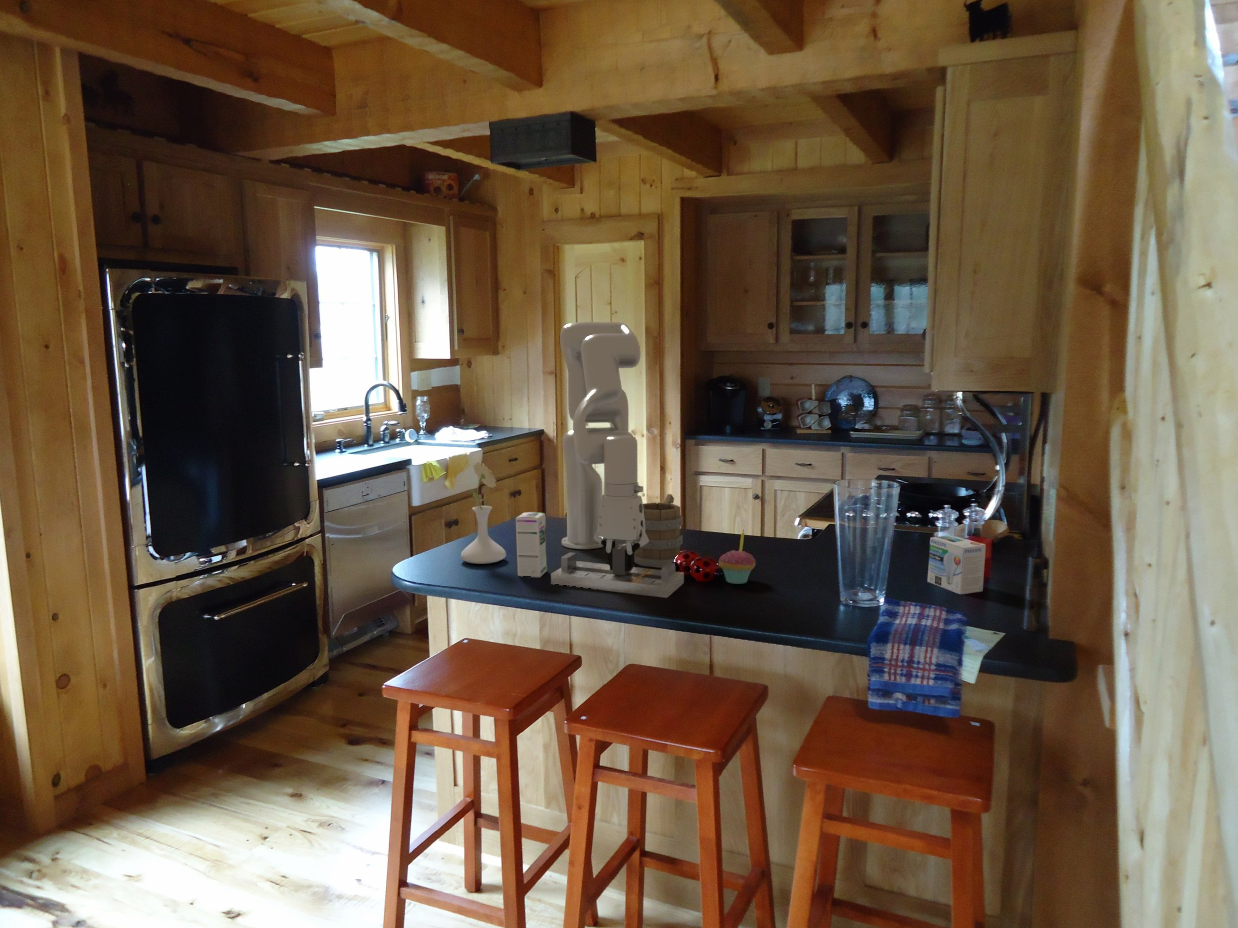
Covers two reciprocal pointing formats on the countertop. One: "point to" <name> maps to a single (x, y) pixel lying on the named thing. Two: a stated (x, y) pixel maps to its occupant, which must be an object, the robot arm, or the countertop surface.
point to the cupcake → (737, 564)
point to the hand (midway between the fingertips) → (621, 568)
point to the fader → (619, 559)
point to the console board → (617, 578)
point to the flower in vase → (483, 526)
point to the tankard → (660, 534)
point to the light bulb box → (956, 564)
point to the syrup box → (531, 544)
